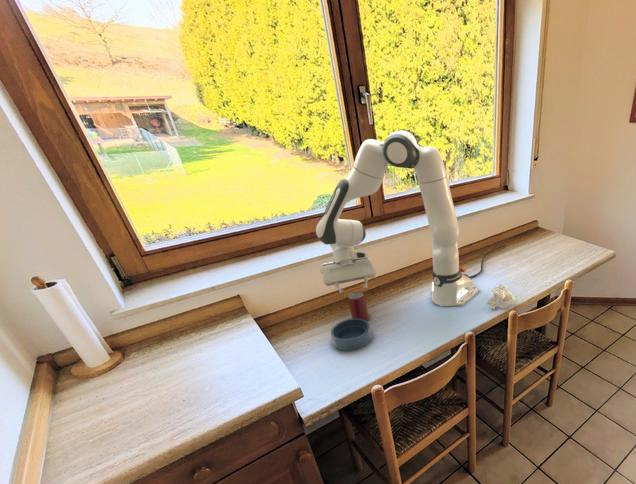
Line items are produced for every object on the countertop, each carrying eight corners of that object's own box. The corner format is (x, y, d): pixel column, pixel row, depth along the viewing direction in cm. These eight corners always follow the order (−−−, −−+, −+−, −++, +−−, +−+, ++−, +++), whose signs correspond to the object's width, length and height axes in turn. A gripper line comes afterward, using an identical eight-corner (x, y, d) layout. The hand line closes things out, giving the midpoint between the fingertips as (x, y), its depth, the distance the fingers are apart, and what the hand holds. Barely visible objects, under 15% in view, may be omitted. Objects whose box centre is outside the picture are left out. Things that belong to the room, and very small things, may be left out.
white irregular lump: (516, 307, 149) (500, 291, 147) (501, 318, 153) (485, 303, 151) (520, 293, 159) (505, 278, 157) (506, 304, 163) (491, 290, 161)
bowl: (358, 325, 143) (356, 314, 140) (379, 339, 135) (377, 327, 132) (326, 341, 134) (323, 329, 131) (347, 357, 126) (344, 345, 123)
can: (363, 313, 150) (358, 289, 144) (372, 319, 147) (367, 294, 141) (349, 319, 146) (344, 295, 140) (358, 325, 143) (353, 301, 137)
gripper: (318, 261, 141) (326, 294, 138) (370, 252, 149) (379, 283, 146) (319, 267, 146) (327, 298, 144) (370, 258, 154) (378, 288, 152)
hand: (354, 290), depth 145 cm, fingers open, 8 cm apart
